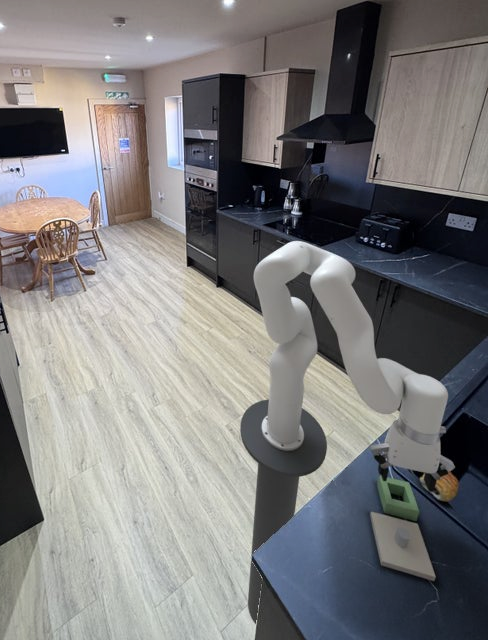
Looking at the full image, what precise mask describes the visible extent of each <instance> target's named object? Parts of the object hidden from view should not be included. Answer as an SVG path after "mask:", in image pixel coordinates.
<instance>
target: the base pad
mask: <svg viewBox="0 0 488 640" xmlns="http://www.w3.org/2000/svg"><path fill="white" fill-rule="evenodd" d="M369 517H370V521H371V527H372V530H373V535H374V540H375V544H376V548H377V553H378V557H379V558H378V559H379V561H380V565H381V566H382V567H386V568H389V569H392V570H394V571H395V570H396V571H399V572H403V573H406V574H409V575H412V576H416V577H419V578H421V579H425V580H428V581H432V582H435V580H436V578H437V576H436V574H435V571H434V568H433V564H432V562H431V559H430V555H429V553H428V550H427V547H426V545H425V544H426V543H425V541H424V537H423V535H422V532H421V529H420V527H419V526H420V525H419V523H416V522H414V521H410V520H405V519H401V518H397V517H393V516H389V515H387V514H382V513H378V512H376V511H375V512H374V511H370V513H369Z"/></svg>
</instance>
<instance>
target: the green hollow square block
mask: <svg viewBox="0 0 488 640" xmlns="http://www.w3.org/2000/svg"><path fill="white" fill-rule="evenodd" d="M376 488H377V490H378V494H379V498H380V503H381V506H382V509H383V513H384V514H386V515H391V516H395V517H399V518H402V519H406V520H409V521H412V522H417V521H418V517H419V515H420V508H419V507H418V504H417V501H416V497H415V495H414V492H413V490H412V486H411V484H410V482H409V481H405V480H400V479H396V478H391V477H388V476H387V481H386V482H385V481H383V479H382V476H381V475H378V478H377V482H376ZM392 495H396V496H400V497H402V500H398V499H395V498H392Z"/></svg>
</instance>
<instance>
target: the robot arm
mask: <svg viewBox="0 0 488 640" xmlns="http://www.w3.org/2000/svg"><path fill="white" fill-rule="evenodd" d="M303 272H304V273H305V274H308V275H310V276H311V277H310V280H309V285H310V288H311V291H312V293H313V294H314V296H315V298H316V299H317V301H318V303H319V305H320V307H321V308H322V310H323V312H324V314H325V316H326V317H327V319H328V320H329V322H330V324H331V326H332V327H333V330H334V332H335V333H336V336H337V340H338V346H339V350H340V354H341V357H342V358H341V359H342V362H343V366H344V369H345V371H346V373H347V376H348V378H349V380H350V382H351V384H352V386H353V388H354V389H355V391H356V393H357V394H358V395H359V397H360V399H361V401H363V402H364V404H365V405H366V406H367V407H368V408H369V409H371V410H372V411H374V412H375V413H378V414H382V415H391V414H394V413H396V412H397V411H398V410H399V413H398V418H397V419H395V420H393V422H392V423H391V424H390V425H389V427H388V431H387V433H386V436H385V438H384V442H382V443H381V442H380V443H375V444H370V445H369V450H370V452H371V454H372V456H373V458H374V460H375V461H376V462H377V463H378V466H377V472H378V475H379V476H382V479H383V481H385V482H386V481H387V477H388V476H389V468H390V467H393V466H394V467H398V468H400V469H401V468H402V469H407V470H410V471H415V472H416V471H417V472H421V473H425V476H424V481H425V484H426V486H427V489H428V490H427V491H428V492H429V491H430V492H432V491H433V488H434V487H435V485H436V482H437V480H440V479H441V478H440V477H442V476H445V475H447V474H448V472H451V471H453V470H454V469H455V468H456V466H455V465H454V462H453V460H451V459H449V458H448V457H445V456H443V455H442V454H441V438H440V434H446V433H447V429H446V426H443V425H442V422H443V419H444V415H445V411H446V407H447V403H448V399H449V393H448V392H449V391H448V389H447V388H446V386H445V385H444V384H443V383H441V381H439V380H437V379H436V378H434V377H432V376H429V375H427V374H422V373H421V374H420V373H417V372H415V371H413V370H412V369H410V368H408V367H406V366H404V365H403V364H401V363H399V362H397V361H394V360H393V359H390V358H385V357H379V358H378V357H377V354H376V347H375V331H374V330H375V329H374V324H373V319H372V317H371V316H370V315H369V313H368V311H367V309H366V308H365V306H364V305H363V303H362V301H361V299H360V298H359V296H358V294H357V293H356V291H355V289H354V286H353V285H352V284H353V283H354V282H355V279H356V270H355V267H354V266H353V265H352V263H351V262H350V261H348V260H347V259H345V258H344V257H342V256H339V255H337V254H335V253H334V252H330V251H328V250H326V249H323V248H321V247H318V246H316V245H313V244H311V243H308V242H305V241H300V240H293V241H289V242H288V243H286V244H284V245H283V246H281V247H279V248H278V249H277V250H275V251H273V252H271V253H270V254H268V255H267V256H266V257H264V258H263V259H262V260H261V261H260V262H258V264H257V265H256V266H255V268H254V271H253V283H254V286H255V290H256V292H257V293H256V294H257V295H258V296H257V297H258V299H259V304H260V307H261V309H260V310H261V313H262V318H263V321H264V326H265V330H266V333H267V335H268V337H269V339H270V340H271V341H272V342H273V343H276V344H277V346H276V348H275V349H274V351H272V353H271V356H270V357H269V362H268V367H269V375H270V376H269V377H270V379H269V380H270V381H269V392H268V399H269V405H268V416H266V417H265V418H264V420H263V422H262V433H263V436H264V438H265V439H266V440H267V441H268V442H269V443H270V444H271V445H272V446H274V447H275V448H278V449H280V450H285V451H291V450H295V449H297V448H299V447H300V446H301V445H302V443H303V440H304V432H303V429H302V427H301V425H300V419H301V411H302V408H303V403H304V402H303V401H304V394H305V383H304V378H305V374H306V372H307V370H308V369H309V367H310V365H311V364H312V362H313V360H314V359H315V357H316V356H317V353H318V340H317V335H316V330H315V327H314V322H313V318H312V314H311V311H310V308H309V307H308V305H307V304H306V303H305V302H304V301H303V300H301V299H300V298H298V297H295V296H292V295H291V292H290V290H289V288H288V286H287V285H286V284H287V283H289V282H290V281H292V280H294V279H296V278H297V277H298V276H299V275H300V274H302V273H303ZM399 408H400V409H399ZM386 459H387V460H386ZM430 492H429V493H430Z"/></svg>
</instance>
